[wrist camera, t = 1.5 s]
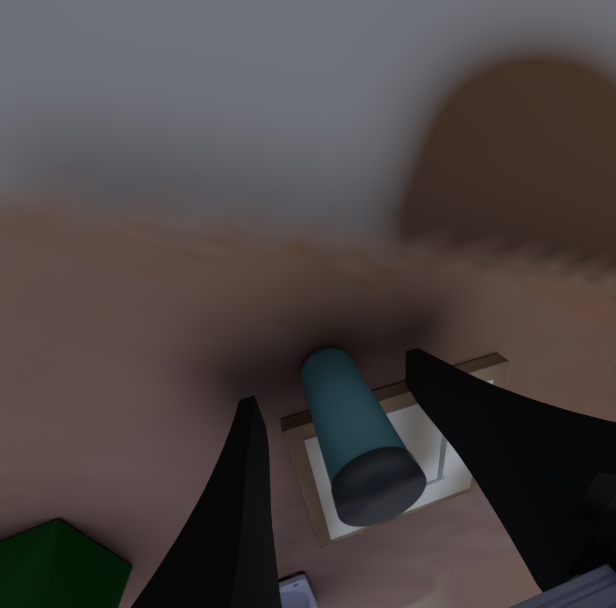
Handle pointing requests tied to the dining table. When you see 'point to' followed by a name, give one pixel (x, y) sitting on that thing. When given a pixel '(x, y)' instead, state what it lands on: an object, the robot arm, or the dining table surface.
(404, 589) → the dining table surface
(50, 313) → the dining table surface
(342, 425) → the marker
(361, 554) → the dining table surface
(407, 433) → the writing board
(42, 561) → the milk carton
